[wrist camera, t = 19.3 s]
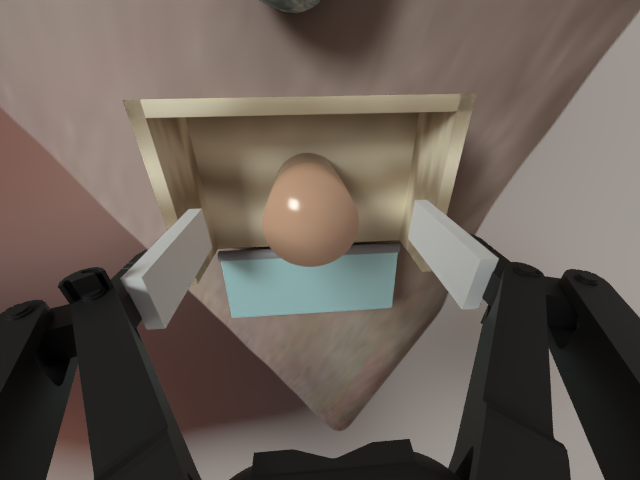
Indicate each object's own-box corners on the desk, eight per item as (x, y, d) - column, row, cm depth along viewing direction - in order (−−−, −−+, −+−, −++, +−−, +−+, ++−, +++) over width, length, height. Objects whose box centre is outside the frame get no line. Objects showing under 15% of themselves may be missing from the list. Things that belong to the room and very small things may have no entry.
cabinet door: (217, 254, 27) (230, 318, 30) (400, 245, 28) (393, 308, 31) (220, 249, 28) (232, 311, 31) (396, 241, 29) (390, 302, 32)
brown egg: (278, 218, 26) (268, 269, 18) (271, 153, 23) (255, 180, 15) (339, 215, 26) (356, 264, 18) (341, 151, 23) (362, 177, 15)
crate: (183, 101, 23) (122, 99, 15) (418, 96, 24) (476, 93, 16) (216, 236, 30) (186, 284, 22) (399, 228, 31) (432, 271, 23)
